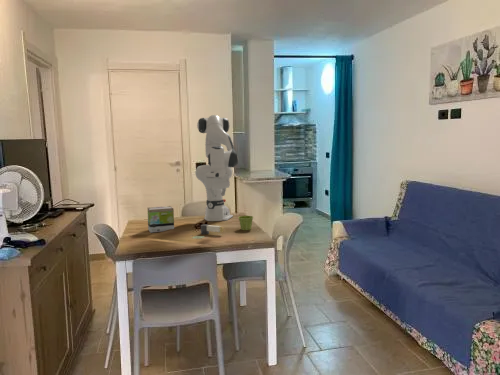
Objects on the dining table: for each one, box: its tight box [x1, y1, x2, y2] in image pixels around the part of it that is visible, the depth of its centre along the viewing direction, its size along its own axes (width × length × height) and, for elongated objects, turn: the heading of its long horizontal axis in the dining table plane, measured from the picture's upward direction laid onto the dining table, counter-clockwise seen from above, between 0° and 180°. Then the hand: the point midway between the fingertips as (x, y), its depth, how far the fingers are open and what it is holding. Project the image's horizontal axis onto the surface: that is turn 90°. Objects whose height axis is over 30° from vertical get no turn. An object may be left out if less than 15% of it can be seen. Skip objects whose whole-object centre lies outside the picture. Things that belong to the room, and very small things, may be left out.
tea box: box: [147, 205, 175, 233], centre depth 253 cm, size 15×10×15 cm, turn 112°
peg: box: [200, 224, 224, 235], centre depth 235 cm, size 15×5×5 cm, turn 62°
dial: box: [191, 233, 223, 240], centre depth 238 cm, size 25×25×1 cm
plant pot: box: [237, 215, 254, 231], centre depth 247 cm, size 9×9×9 cm
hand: (218, 196), depth 238 cm, fingers open, 8 cm apart
